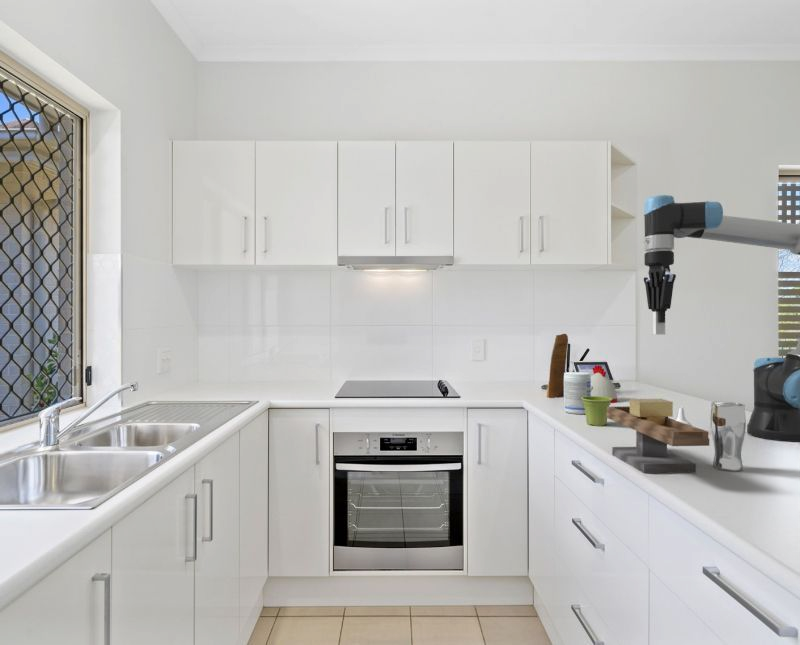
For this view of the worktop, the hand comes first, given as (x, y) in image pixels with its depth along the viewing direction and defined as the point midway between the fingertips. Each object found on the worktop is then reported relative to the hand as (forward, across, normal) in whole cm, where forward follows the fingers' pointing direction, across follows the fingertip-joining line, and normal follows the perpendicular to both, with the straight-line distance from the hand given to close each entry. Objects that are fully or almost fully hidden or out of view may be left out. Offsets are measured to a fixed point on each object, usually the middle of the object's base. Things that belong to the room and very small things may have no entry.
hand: (659, 334), depth 149 cm
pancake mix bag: (+31, -87, +1) cm, 92 cm away
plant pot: (+31, -24, -8) cm, 40 cm away
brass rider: (+21, +22, -14) cm, 33 cm away
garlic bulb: (+31, -11, +13) cm, 35 cm away
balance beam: (+30, +22, -14) cm, 40 cm away
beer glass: (+31, +27, +2) cm, 41 cm away
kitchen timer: (+31, -73, +14) cm, 80 cm away
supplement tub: (+31, -46, -6) cm, 56 cm away
